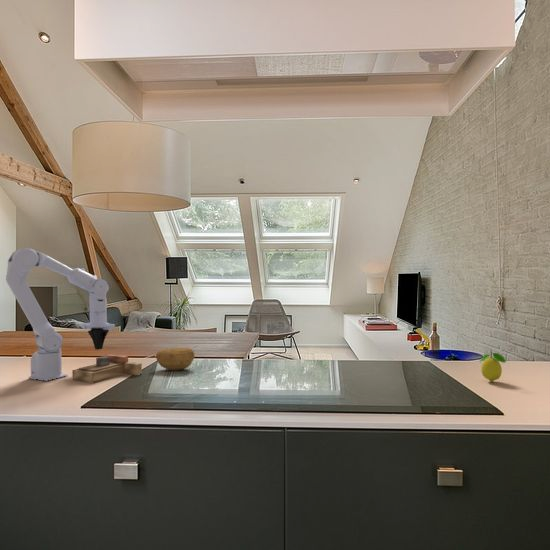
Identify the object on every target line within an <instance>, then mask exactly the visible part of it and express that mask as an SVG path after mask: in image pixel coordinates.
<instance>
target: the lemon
mask: <svg viewBox="0 0 550 550" xmlns="http://www.w3.org/2000/svg"><path fill="white" fill-rule="evenodd" d="M492 351H493V350H490V354H484V355H483V356H482V357H481V359H480V360H479V363H482V364H481V370H480V371H481V375H482V376H483V377H484V378H485V379H486V380H488V381H489V382H491V383H493V382H494V381H496V380H499V379H500V378H501V376H502V372H503V371H502V370H503V369H502V364H501V363H507V361H506V359H505V358H504V355H502V354H500V353H498V352H492Z"/></svg>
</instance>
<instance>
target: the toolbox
mask: <svg viewBox="0 0 550 550" xmlns="http://www.w3.org/2000/svg"><path fill="white" fill-rule="evenodd" d="M142 365H143V363H141V362H132V361H128V362H126V363H123V365H120V366H116V367H113V368H109V369H105V370H101V371H97V372H88V371H81V370H79V368H77V369H72V374H71V375H72V381H76V380H79V381H78V382H83V381H85V382H84V383H90V382H91V383H92V384H95V383H99V382H103V381H106V380H110V379H113V378H116V377H120V376H124V375H128V376H129V375H130V376H136V375H137V376H141V375H142V373H143V370H142V368H143V367H142ZM140 374H141V375H140ZM91 383H90V384H91Z"/></svg>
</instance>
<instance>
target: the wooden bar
mask: <svg viewBox="0 0 550 550" xmlns="http://www.w3.org/2000/svg"><path fill="white" fill-rule="evenodd" d="M105 357H110V361H112V362H121V363H125V362H129V356H128V355H120V354H106V355H105Z"/></svg>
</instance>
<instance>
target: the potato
mask: <svg viewBox="0 0 550 550" xmlns="http://www.w3.org/2000/svg"><path fill="white" fill-rule="evenodd" d="M155 355H156V356H155V358H156V362H157V363H158V364H159V365H160V367H161V368H164V369H166V370H170V371H180V370H185V369H187V368H189V366H191V365H192V363H193V361H194V359H195V355H196V353H195V351H194V350H193V349H192V348H189V347H180V346H178V347H172V348H171V347H170V348H169V347H168V348H163V349H161V350H158V351H157V353H156V354H155Z"/></svg>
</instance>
